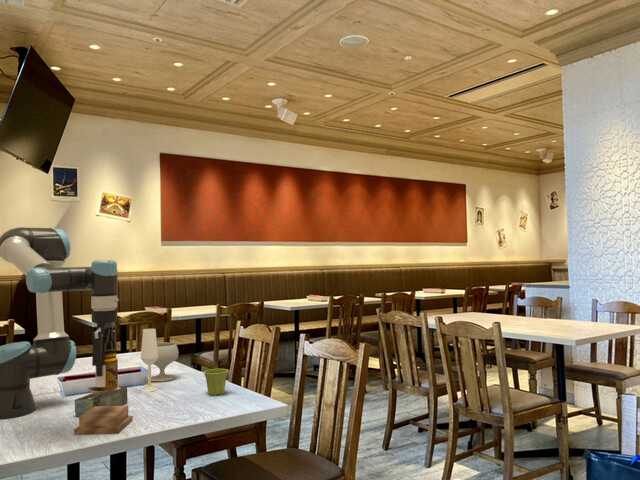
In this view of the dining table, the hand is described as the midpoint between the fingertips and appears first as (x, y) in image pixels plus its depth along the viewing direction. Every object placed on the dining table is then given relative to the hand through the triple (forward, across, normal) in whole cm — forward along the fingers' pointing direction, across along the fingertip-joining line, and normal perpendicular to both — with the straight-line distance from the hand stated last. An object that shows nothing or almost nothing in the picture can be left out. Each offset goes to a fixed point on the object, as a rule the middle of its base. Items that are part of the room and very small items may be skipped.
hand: (104, 384), depth 165 cm
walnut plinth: (+13, 0, 0) cm, 13 cm away
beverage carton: (+14, +21, +8) cm, 26 cm away
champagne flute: (+13, +48, 0) cm, 50 cm away
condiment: (+2, 0, 0) cm, 2 cm away
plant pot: (+14, +39, -28) cm, 50 cm away
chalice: (+13, +67, 0) cm, 68 cm away
